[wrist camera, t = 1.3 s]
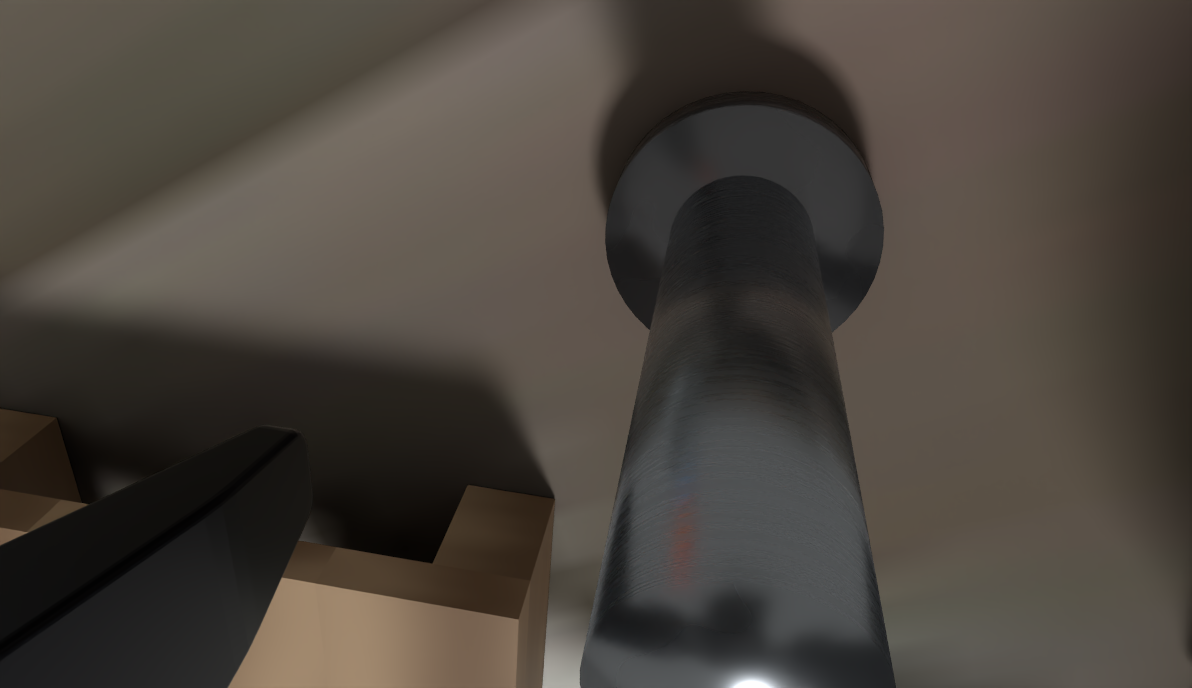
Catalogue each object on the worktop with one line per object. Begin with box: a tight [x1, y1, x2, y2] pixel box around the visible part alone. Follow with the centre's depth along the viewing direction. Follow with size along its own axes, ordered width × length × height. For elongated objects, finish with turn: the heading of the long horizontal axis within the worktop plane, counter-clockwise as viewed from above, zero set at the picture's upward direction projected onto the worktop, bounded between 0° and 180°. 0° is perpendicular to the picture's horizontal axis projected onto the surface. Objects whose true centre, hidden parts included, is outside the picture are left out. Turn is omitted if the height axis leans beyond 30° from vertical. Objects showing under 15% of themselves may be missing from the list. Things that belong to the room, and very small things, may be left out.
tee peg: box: [580, 92, 896, 688], centre depth 11 cm, size 5×5×10 cm
